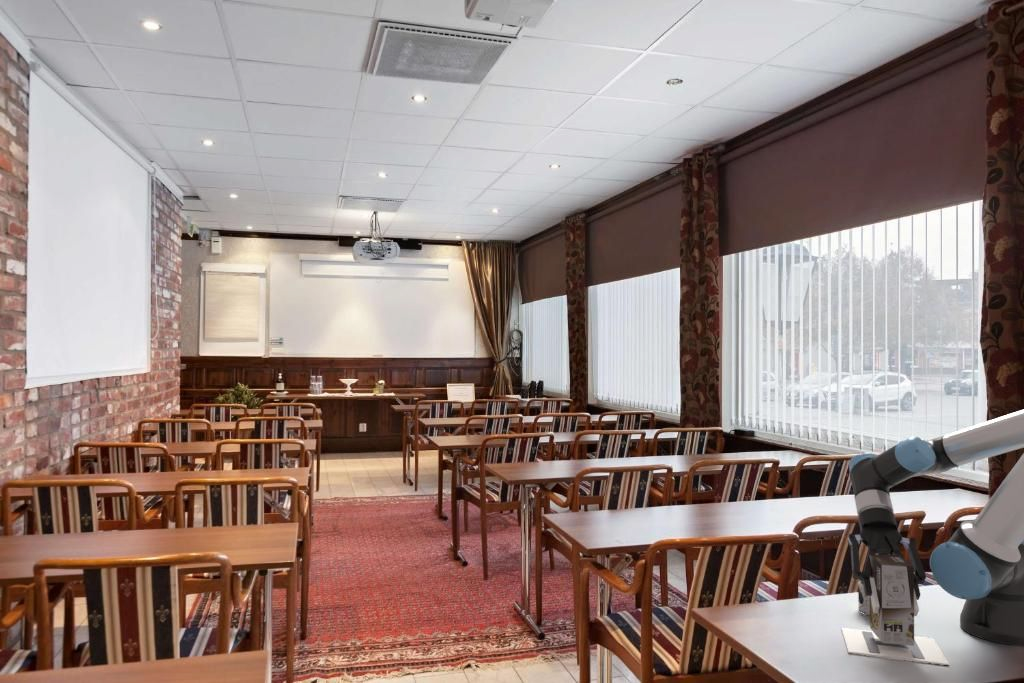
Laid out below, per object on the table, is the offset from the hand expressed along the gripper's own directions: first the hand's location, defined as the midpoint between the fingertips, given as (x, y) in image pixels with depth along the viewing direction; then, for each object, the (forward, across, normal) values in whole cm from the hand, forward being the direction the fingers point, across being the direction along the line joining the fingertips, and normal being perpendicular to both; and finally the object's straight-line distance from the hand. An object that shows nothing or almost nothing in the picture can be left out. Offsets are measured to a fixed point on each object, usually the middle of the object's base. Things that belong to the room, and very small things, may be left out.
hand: (895, 611), depth 147 cm
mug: (-10, -1, -23) cm, 25 cm away
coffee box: (+2, 0, -7) cm, 8 cm away
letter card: (+4, 0, -8) cm, 9 cm away
